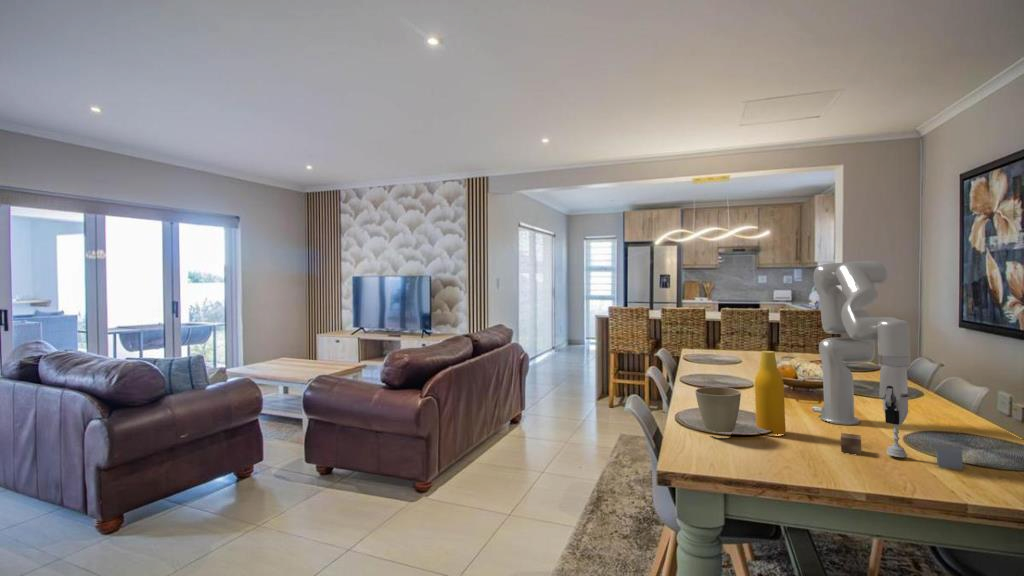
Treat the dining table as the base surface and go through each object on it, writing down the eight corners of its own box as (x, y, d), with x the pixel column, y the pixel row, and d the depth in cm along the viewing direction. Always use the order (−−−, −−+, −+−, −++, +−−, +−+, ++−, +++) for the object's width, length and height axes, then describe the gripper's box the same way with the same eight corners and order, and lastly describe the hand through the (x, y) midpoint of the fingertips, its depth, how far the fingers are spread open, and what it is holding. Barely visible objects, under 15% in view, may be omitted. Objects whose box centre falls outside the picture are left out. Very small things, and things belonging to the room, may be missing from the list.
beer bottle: (779, 438, 164) (776, 354, 165) (751, 433, 171) (748, 352, 171) (789, 432, 171) (786, 351, 171) (762, 427, 177) (759, 349, 178)
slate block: (938, 467, 136) (938, 449, 136) (936, 461, 140) (936, 444, 140) (962, 470, 133) (962, 452, 133) (960, 464, 137) (959, 447, 137)
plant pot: (737, 430, 175) (735, 386, 175) (747, 443, 161) (745, 395, 161) (694, 429, 179) (692, 386, 179) (700, 441, 164) (698, 395, 164)
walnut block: (841, 453, 149) (840, 437, 149) (841, 448, 153) (841, 432, 153) (861, 456, 146) (860, 439, 146) (861, 451, 150) (860, 435, 150)
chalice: (917, 459, 139) (915, 397, 139) (890, 458, 141) (889, 397, 141) (902, 450, 147) (900, 391, 146) (877, 449, 148) (875, 391, 148)
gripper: (887, 356, 152) (888, 412, 152) (869, 363, 141) (871, 424, 141) (917, 358, 146) (919, 417, 146) (901, 366, 135) (903, 430, 135)
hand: (895, 420), depth 144 cm, fingers closed on chalice, 6 cm apart
